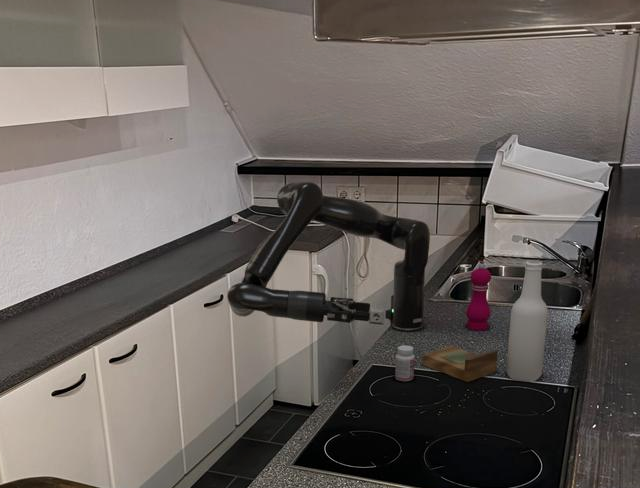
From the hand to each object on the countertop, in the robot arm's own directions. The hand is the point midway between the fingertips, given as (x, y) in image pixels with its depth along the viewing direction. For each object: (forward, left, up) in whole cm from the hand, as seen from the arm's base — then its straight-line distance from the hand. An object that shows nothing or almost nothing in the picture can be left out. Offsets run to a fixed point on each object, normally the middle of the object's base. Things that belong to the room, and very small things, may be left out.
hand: (369, 312), depth 193 cm
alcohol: (+24, +32, -18) cm, 44 cm away
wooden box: (+10, +23, -18) cm, 31 cm away
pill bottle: (+6, +7, -18) cm, 20 cm away
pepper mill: (-10, +53, -18) cm, 57 cm away
